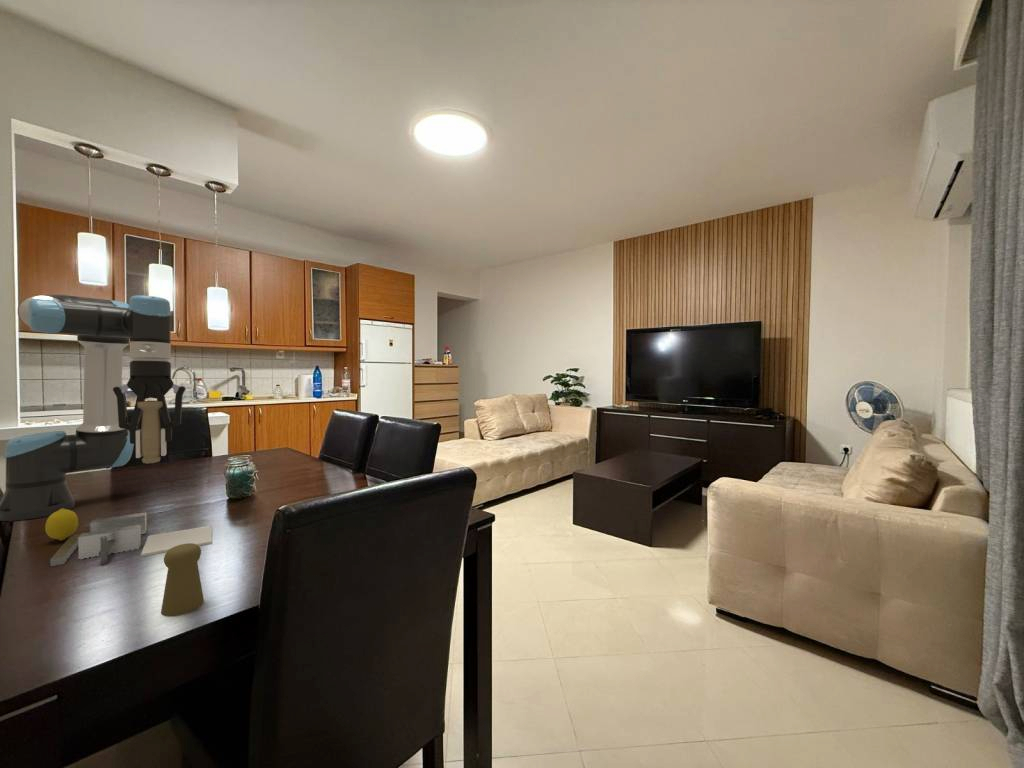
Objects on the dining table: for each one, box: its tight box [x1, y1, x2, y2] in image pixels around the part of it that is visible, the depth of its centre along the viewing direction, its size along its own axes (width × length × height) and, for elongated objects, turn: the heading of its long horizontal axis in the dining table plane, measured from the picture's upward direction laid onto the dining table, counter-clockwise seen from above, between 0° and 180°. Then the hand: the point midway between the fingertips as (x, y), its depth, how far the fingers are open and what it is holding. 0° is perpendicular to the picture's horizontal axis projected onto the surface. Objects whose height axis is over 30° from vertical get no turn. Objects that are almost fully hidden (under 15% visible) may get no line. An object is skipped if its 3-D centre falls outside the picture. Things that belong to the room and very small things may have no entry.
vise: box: [49, 512, 148, 567], centre depth 96 cm, size 21×14×7 cm, turn 36°
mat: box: [140, 524, 213, 557], centre depth 102 cm, size 13×13×1 cm
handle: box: [137, 400, 163, 464], centre depth 100 cm, size 5×6×15 cm
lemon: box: [44, 508, 79, 542], centre depth 101 cm, size 6×6×8 cm
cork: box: [160, 543, 205, 617], centre depth 74 cm, size 6×6×11 cm
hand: (151, 455), depth 100 cm, fingers closed on handle, 4 cm apart
